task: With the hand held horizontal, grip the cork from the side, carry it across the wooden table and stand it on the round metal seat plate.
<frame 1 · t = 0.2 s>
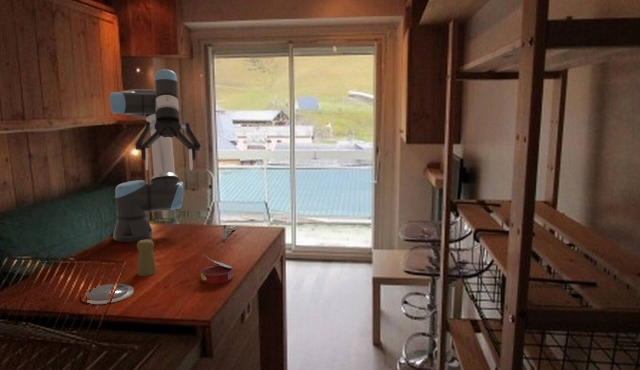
hand: (169, 168, 150), 34 cm above the table, tool tilted 30°, fingers open, 13 cm apart
seat plate: (107, 294, 134), on the table
canned food: (217, 278, 148), on the table
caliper: (230, 234, 200), on the table
cork: (147, 273, 152), on the table
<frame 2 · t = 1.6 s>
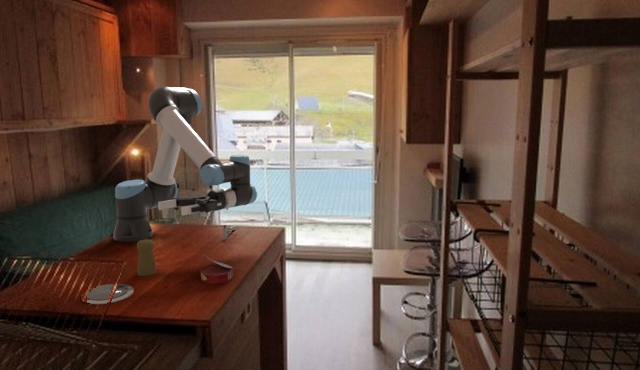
hand: (169, 208, 156), 20 cm above the table, tool horizontal, fingers open, 13 cm apart
nothing on the table moved.
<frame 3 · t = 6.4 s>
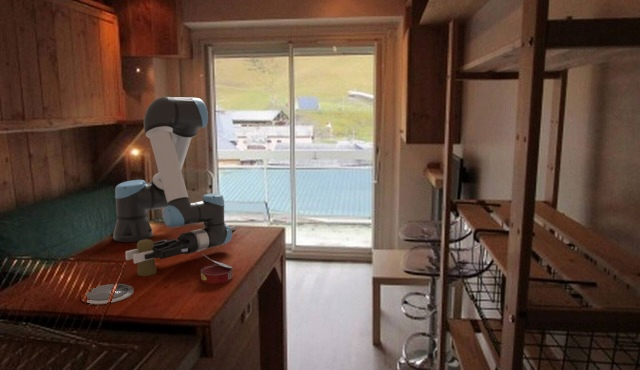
hand: (130, 257, 147), 7 cm above the table, tool horizontal, fingers closed on cork, 4 cm apart
cork: (147, 273, 152), on the table, touching gripper
everything else where it was.
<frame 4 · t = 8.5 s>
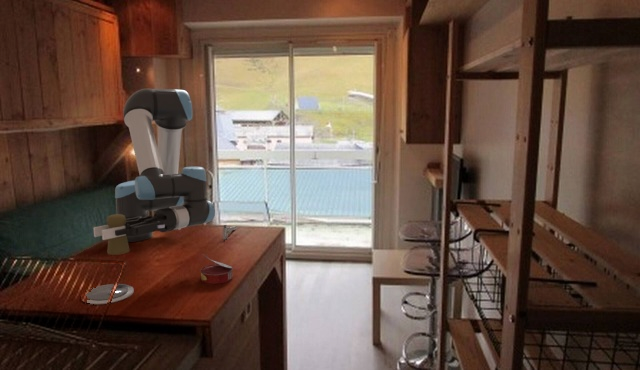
hand: (98, 233, 131), 18 cm above the table, tool horizontal, fingers closed on cork, 4 cm apart
cork: (118, 252, 136), point 12 cm above the table, touching gripper
everything else where it was.
when the fingers open (9 cm above the table, at t = 10.7 s): cork drops 1 cm, resting on seat plate.
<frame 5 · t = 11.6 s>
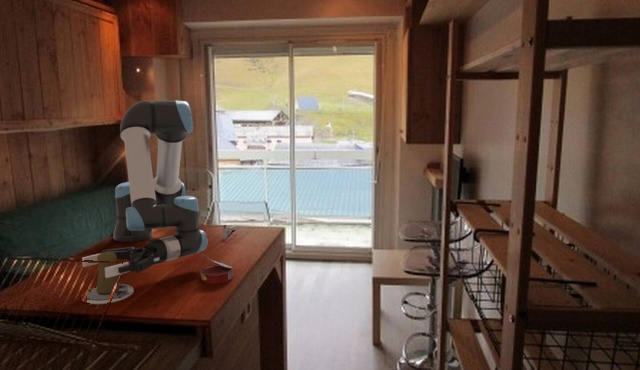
hand: (93, 267, 130), 9 cm above the table, tool horizontal, fingers open, 13 cm apart
cork: (107, 290, 134), point 1 cm above the table, touching seat plate
everything else where it was.
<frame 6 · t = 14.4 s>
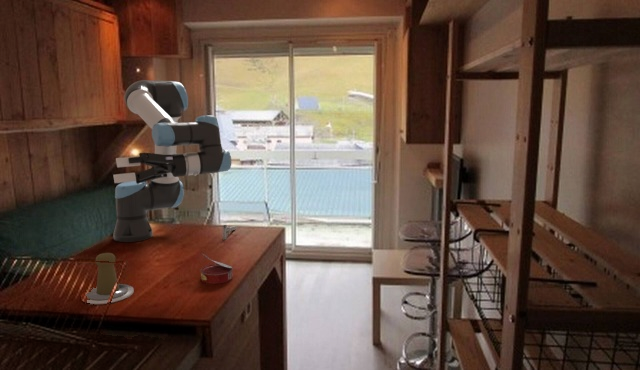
hand: (115, 171, 144), 34 cm above the table, tool horizontal, fingers open, 13 cm apart
nothing on the table moved.
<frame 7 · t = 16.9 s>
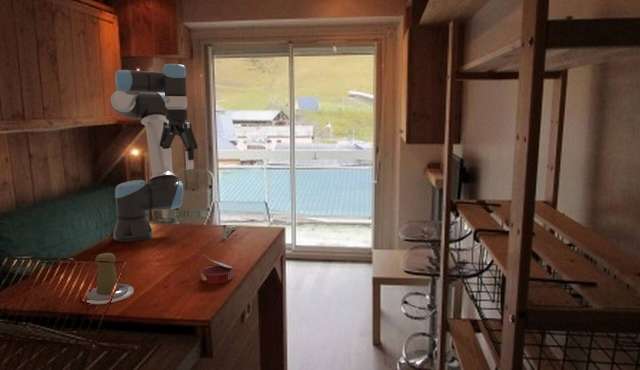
hand: (178, 167, 170), 32 cm above the table, tool pointing down, fingers open, 13 cm apart
nothing on the table moved.
at the end: cork 0.4 cm from the seat plate (horizontally); cork tilted 0°; the gripper is holding nothing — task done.
